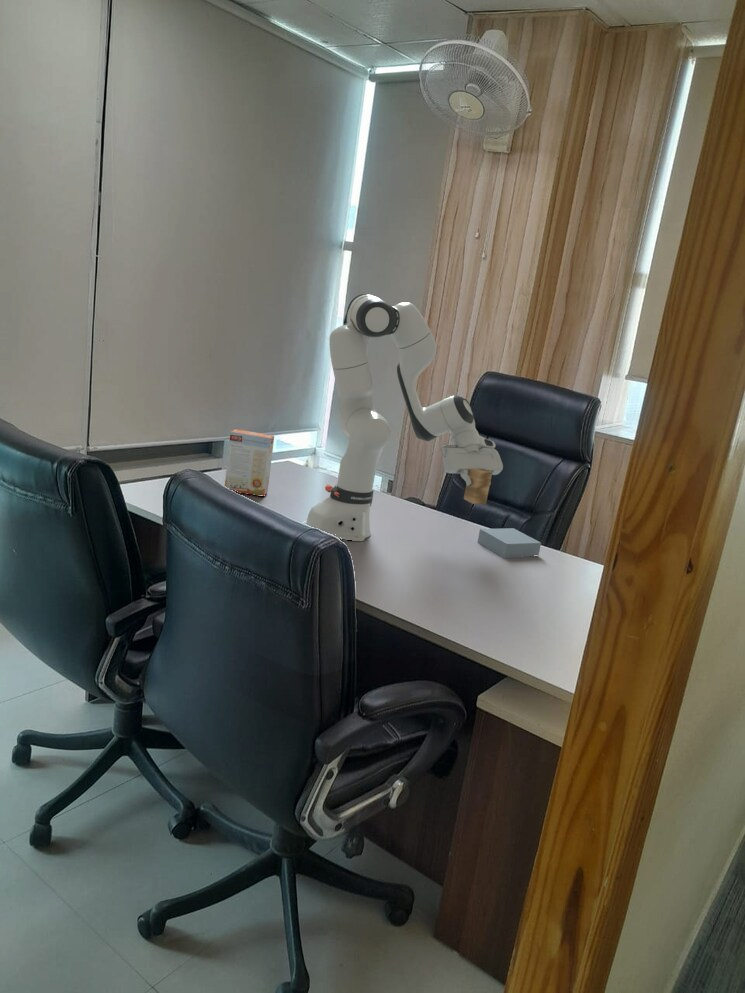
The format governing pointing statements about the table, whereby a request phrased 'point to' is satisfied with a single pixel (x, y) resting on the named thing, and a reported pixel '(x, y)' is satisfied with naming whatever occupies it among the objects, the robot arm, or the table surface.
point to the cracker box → (249, 462)
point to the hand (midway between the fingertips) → (479, 485)
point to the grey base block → (508, 542)
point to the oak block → (478, 486)
